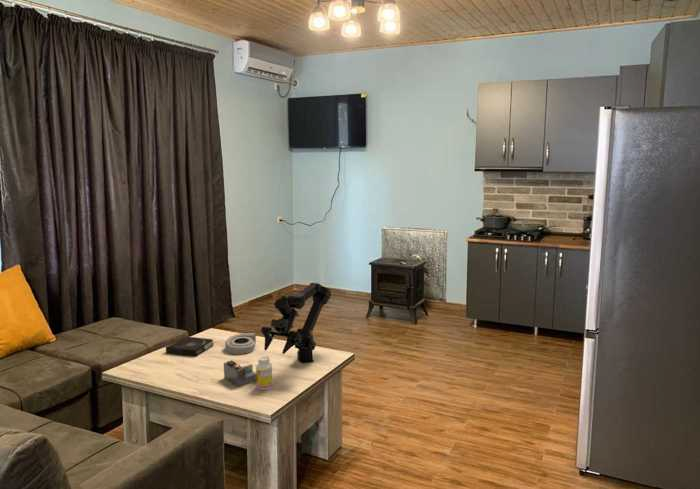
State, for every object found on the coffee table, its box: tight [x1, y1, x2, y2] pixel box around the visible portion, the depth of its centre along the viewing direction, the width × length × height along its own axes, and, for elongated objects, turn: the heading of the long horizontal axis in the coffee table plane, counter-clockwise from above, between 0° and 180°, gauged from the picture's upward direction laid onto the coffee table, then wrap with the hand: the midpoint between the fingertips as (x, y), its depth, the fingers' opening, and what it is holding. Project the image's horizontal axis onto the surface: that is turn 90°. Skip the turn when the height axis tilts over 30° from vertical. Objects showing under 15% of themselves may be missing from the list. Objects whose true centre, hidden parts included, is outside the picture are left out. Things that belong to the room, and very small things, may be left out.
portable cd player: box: [165, 336, 215, 358], centre depth 274 cm, size 16×17×4 cm
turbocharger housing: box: [224, 332, 257, 355], centre depth 274 cm, size 17×6×15 cm
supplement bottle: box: [255, 355, 273, 391], centre depth 228 cm, size 7×7×13 cm
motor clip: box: [223, 360, 257, 387], centre depth 238 cm, size 14×12×8 cm
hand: (273, 351), depth 234 cm, fingers open, 9 cm apart
